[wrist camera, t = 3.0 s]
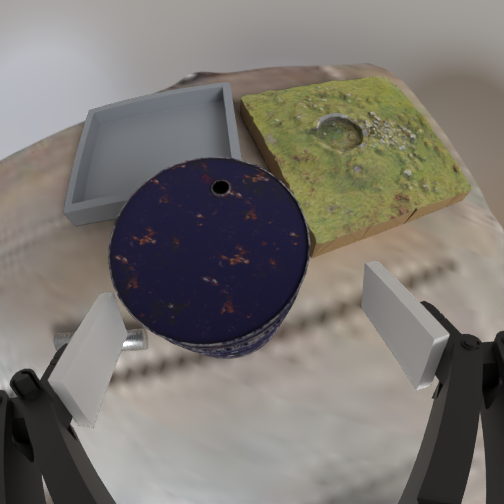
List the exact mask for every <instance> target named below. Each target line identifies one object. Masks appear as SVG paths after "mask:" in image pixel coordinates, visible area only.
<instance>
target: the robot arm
mask: <svg viewBox="0 0 504 504" xmlns="http://www.w3.org/2000/svg"><path fill="white" fill-rule="evenodd" d="M361 308H362V309H363V311H364V312H365V314H366V315H367V317H368V318H369V319H370V321H371V322H372V324H373V325H374V327H375V328H376V330H377V331H378V333H379V334H380V335H381V337H382V338H383V340H384V341H385V343H386V344H387V346H388V347H389V349H390V350H391V352H392V353H393V355H394V356H395V358H396V360H397V361H398V363H399V364H400V366H401V367H402V369H403V370H404V372H405V373H406V375H407V377H408V378H409V380H410V381H411V383H412V384H413V386H414V388H415V389H416V390H419V389H422V388H425V387H427V386H430V385H431V384H432V381H433V379H434V377H435V375H436V377H437V378H438V380H439V383H438V385H437V388H436V390H435V392H434V394H433V397H432V398H433V399H434V402H433V406H432V410H431V413H430V417H429V421H428V424H427V428H426V431H425V434H424V438H423V441H422V444H421V447H420V450H419V453H418V456H417V459H416V461H415V464H414V467H413V469H412V472H411V475H410V477H409V480H408V482H407V485H406V487H405V489H404V492H403V494H402V496H401V499H400V501H399V503H398V504H461V502H462V498H463V495H464V491H465V488H466V484H467V480H468V476H469V472H470V468H471V463H472V458H473V453H474V448H475V442H476V436H477V429H478V422H479V414H481V421H482V429H483V438H484V448H485V463H486V504H504V331H500V332H499V333H497V335H496V337H495V340H494V341H493V342H481V341H480V340H479V339H478V338H477V337H475V336H473V335H470V334H461V333H460V332H459V331H458V330H457V329H456V328H455V327H454V326H453V325H452V324H451V323H450V322H449V321H448V320H447V319H446V318H445V317H444V316H443V315H442V314H441V313H440V312H439V311H438V310H437V309H436V308H435V307H434V306H433V305H431V304H430V303H428V302H426V301H422V302H419V301H418V300H417V299H416V298H415V297H414V296H413V295H412V294H411V293H410V292H409V291H408V290H407V289H406V288H405V287H404V286H403V285H402V284H401V283H400V282H399V281H398V280H397V279H396V278H395V277H394V276H393V275H392V274H391V273H390V272H389V271H388V270H387V269H386V268H385V267H384V266H383V265H382V264H381V263H379V262H378V261H373V262H366V263H365V268H364V281H363V292H362V302H361ZM127 335H128V333H127V331H126V328H125V325H124V323H123V320H122V317H121V314H120V311H119V308H118V305H117V302H116V299H115V296H114V293H113V292H107V293H100V295H99V296H98V298H97V299H96V301H95V302H94V304H93V305H92V307H91V308H90V310H89V312H88V313H87V315H86V316H85V318H84V319H83V321H82V323H81V324H80V326H79V327H78V329H77V331H76V332H75V334H74V335H73V337H72V339H71V340H70V342H69V343H65V344H64V345H63V346H62V347H61V348H60V349H58V351H57V352H56V354H55V356H54V357H53V358H54V359H52V361H51V362H50V365H49V366H48V367H47V369H46V371H45V373H44V374H43V376H42V378H41V380H39V379H38V377H37V375H36V374H35V372H34V371H33V370H32V369H23V370H20V371H19V372H17V373H16V374H15V375H14V376H13V377H12V379H11V380H10V386H11V388H12V389H13V391H14V392H15V394H16V395H17V397H15V398H9V396H8V395H7V393H6V392H5V391H3V390H0V504H46V501H45V495H44V489H43V482H42V476H43V478H44V481H45V483H46V486H47V488H48V491H49V493H50V495H51V498H52V500H53V502H54V504H116V503H115V501H114V500H113V498H112V497H111V495H110V493H109V492H108V490H107V489H106V487H105V486H104V484H103V482H102V481H101V479H100V477H99V476H98V474H97V472H96V471H95V469H94V467H93V465H92V463H91V462H90V460H89V458H88V456H87V454H86V452H85V451H84V449H83V447H82V445H81V443H80V441H79V439H78V437H77V435H76V433H75V430H74V428H73V427H72V426H71V425H70V423H71V420H72V418H73V419H74V420H75V421H76V423H77V424H78V425H79V426H84V427H92V428H94V425H95V422H96V419H97V416H98V413H99V410H100V407H101V404H102V401H103V399H104V396H105V393H106V390H107V387H108V385H109V382H110V379H111V376H112V374H113V371H114V368H115V366H116V363H117V360H118V358H119V355H120V353H121V350H122V348H123V345H124V343H125V340H126V338H127ZM41 473H42V474H41Z"/></svg>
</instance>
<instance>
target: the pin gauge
mask: <svg viewBox="0 0 504 504" xmlns="http://www.w3.org/2000/svg"><path fill="white" fill-rule="evenodd" d="M126 331H127V333H128V335H127V338H126V340H125V343H124V345H123V348H122V350H121V351H139V350H147V349H148V338H147V332H146V330H145V329H132V330H126ZM74 334H75V332H67V333H56V334H55V336H54V346H55V348H56V350H57V351H58V349H60V348H61V347H62V346H63V345H64V344H65V343H69V342H70V340H71V339H72V337H73V335H74Z"/></svg>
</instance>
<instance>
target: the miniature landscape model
mask: <svg viewBox="0 0 504 504" xmlns="http://www.w3.org/2000/svg"><path fill="white" fill-rule="evenodd" d="M240 114H241V116H242V118H243V120H244V122H245V124H246V126H247V128H248V129H249V131H250V133H251V135H252V137H253V139H254V141H255V143H256V145H257V147H258V149H259V150H260V152H261V154H262V156H263V158H264V160H265V162H266V164H267V166H268V168H269V170H270V172H271V174H273V175H274V176H275V177H277V178H278V179H279V180H280V181H282V182H283V183H284V185H285V186H286V187H287V188H288V189H289V190H290V191H291V192H292V194H293V195H294V196H295V198H296V199H297V201H298V202H299V204H300V206H301V208H302V210H303V213H304V215H305V218H306V221H307V225H308V228H309V236H310V255H311V258H313V257H316V256H319V255H321V254H324V253H327V252H329V251H332V250H335V249H337V248H340V247H343V246H345V245H348V244H351V243H353V242H356V241H359V240H362V239H365V238H367V237H370V236H373V235H375V234H378V233H380V232H383V231H386V230H388V229H391V228H393V227H396V226H399V225H401V224H404V223H406V222H409V221H412V220H414V219H417V218H419V217H422V216H424V215H427V214H429V213H432V212H434V211H437V210H439V209H442V208H444V207H447V206H450V205H452V204H454V203H457V202H459V201H462V200H463V199H464V198H465V197H466V196H467V194H468V193H469V192H470V191H471V190H472V189H471V186H470V185H469V184H468V183H467V179H466V177H465V176H464V175H463V173H462V171H461V170H460V168H459V166H458V165H457V163H456V162H455V161H454V159H453V158H452V157H451V155H450V153H449V152H448V150H447V149H446V148H445V146H444V145H443V144H442V142H441V140H440V139H439V138H438V137H437V136H436V135H435V133H434V132H433V131H432V129H431V127H430V124H429V123H428V122H427V120H426V119H425V117H424V116H423V115H422V114H421V113H420V112H419V111H418V110H417V109H416V108H415V107H414V105H413V104H412V102H411V101H410V100H409V99H408V98H407V97H406V96H405V95H404V93H403V92H402V91H401V90H400V89H399V88H398V87H397V85H394V83H392V82H391V81H390V80H389V79H388V78H386V77H377V76H372V77H369V78H360V79H357V80H354V79H353V80H342V81H337V80H336V81H329V82H325V83H322V84H312V85H309V86H302V87H293V88H288V89H286V90H278V91H272V90H268V91H264V92H262V93H260V94H248V95H245V96H243V97H242V98H241V108H240Z"/></svg>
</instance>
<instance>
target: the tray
mask: <svg viewBox="0 0 504 504" xmlns="http://www.w3.org/2000/svg"><path fill="white" fill-rule="evenodd" d="M201 157H228V158H234V159H239V160H242V158H241V151H240V145H239V138H238V132H237V125H236V119H235V113H234V106H233V100H232V93H231V87H230V82H225V83H216V84H208V85H201V86H194V87H188V88H182V89H176V90H170V91H165V92H160V93H155V94H150V95H145V96H141V97H137V98H132V99H128V100H124V101H120V102H116V103H113V104H109V105H105V106H102V107H98V108H95V109H92V110H89V112H88V115H87V118H86V121H85V125H84V128H83V131H82V134H81V138H80V141H79V145H78V149H77V152H76V156H75V160H74V164H73V168H72V172H71V176H70V181H69V185H68V190H67V195H66V200H65V206H64V211H63V214H64V215H65V216H66V217H67V218H68V219H69V220H70V221H71V222H72V223H73V224H74V225H75V226H78V225H83V224H89V223H94V222H99V221H105V220H110V219H116V218H117V217H118V215H119V213H120V211H121V209H122V207H123V206H124V205H125V203H126V202H127V200H128V199H129V197H130V196H131V195H132V194H133V193H134V192H135V191H136V190H137V189H138V188H139V186H141V185H142V184H143V183H144V182H145V181H147V180H148V179H149V178H150V177H152V176H153V175H155V174H157V173H158V172H160V171H161V170H163V169H165V168H167V167H170V166H172V165H174V164H177V163H180V162H183V161H186V160H190V159H195V158H201Z"/></svg>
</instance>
